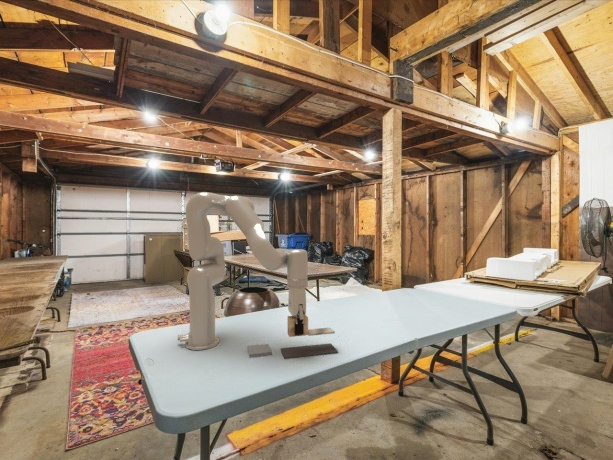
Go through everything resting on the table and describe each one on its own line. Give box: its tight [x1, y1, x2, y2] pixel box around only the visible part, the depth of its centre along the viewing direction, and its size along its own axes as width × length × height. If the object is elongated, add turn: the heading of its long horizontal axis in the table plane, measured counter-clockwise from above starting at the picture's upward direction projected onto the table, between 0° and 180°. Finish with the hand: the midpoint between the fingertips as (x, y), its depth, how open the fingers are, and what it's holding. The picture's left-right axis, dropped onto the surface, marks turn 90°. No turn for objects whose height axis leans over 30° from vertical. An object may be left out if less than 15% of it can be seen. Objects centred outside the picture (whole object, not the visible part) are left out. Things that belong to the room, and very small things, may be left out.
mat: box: [280, 343, 339, 360], centre depth 113 cm, size 20×8×1 cm, turn 105°
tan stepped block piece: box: [286, 314, 336, 338], centre depth 113 cm, size 17×5×6 cm, turn 105°
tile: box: [246, 343, 273, 359], centre depth 112 cm, size 8×2×8 cm
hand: (297, 332), depth 111 cm, fingers closed on tan stepped block piece, 3 cm apart
